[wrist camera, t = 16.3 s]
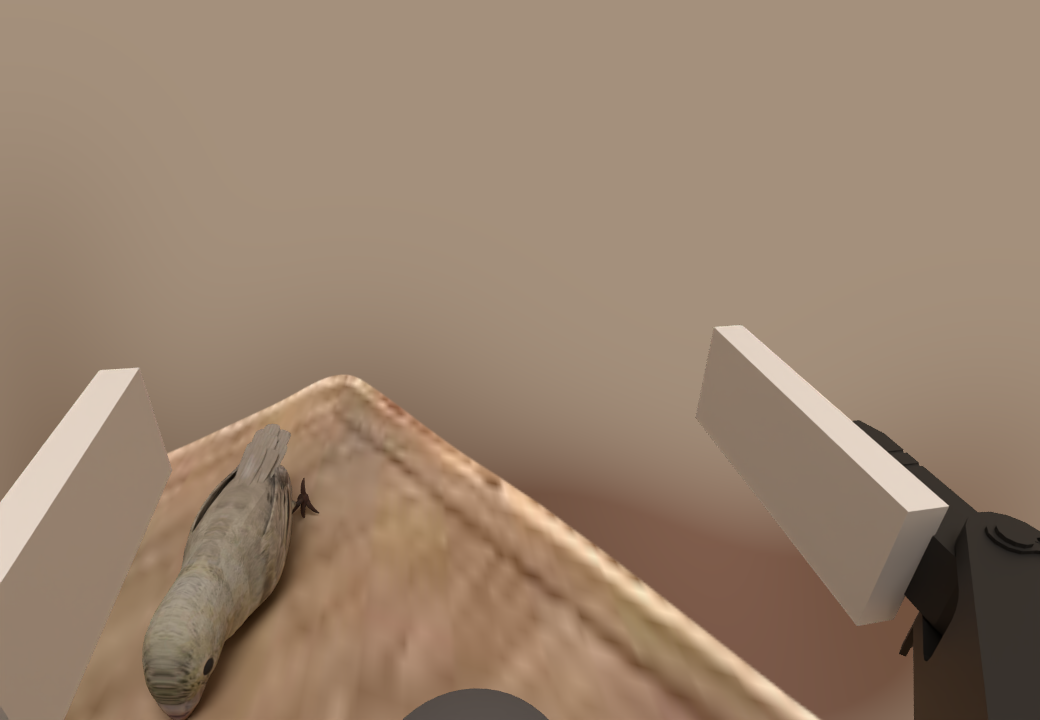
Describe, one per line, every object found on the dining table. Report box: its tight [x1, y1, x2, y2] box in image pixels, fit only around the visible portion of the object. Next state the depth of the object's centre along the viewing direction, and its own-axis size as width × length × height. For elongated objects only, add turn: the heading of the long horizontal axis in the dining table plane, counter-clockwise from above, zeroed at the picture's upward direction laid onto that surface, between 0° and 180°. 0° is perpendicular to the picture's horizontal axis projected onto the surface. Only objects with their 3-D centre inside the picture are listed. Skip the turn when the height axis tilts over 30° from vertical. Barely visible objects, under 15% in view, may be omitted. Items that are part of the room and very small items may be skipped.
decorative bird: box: [142, 424, 319, 720], centre depth 37 cm, size 5×16×7 cm, turn 178°
